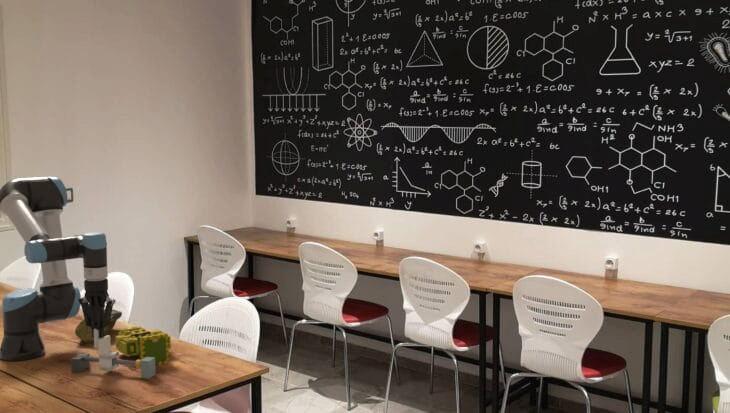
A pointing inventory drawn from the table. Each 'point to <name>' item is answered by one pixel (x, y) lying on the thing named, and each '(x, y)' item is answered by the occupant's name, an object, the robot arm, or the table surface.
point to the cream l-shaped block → (107, 355)
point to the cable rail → (145, 364)
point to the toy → (144, 344)
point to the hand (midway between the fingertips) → (98, 346)
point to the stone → (86, 331)
